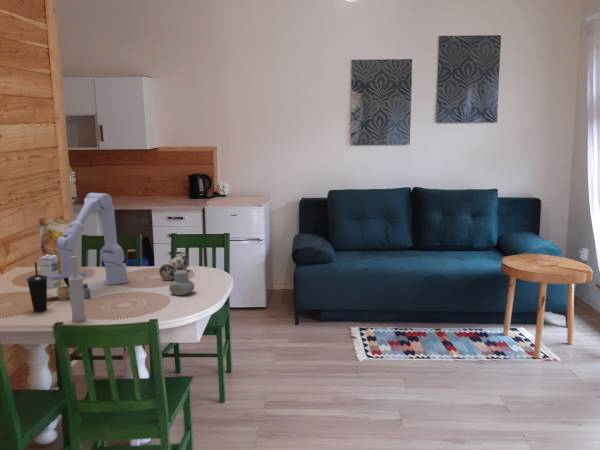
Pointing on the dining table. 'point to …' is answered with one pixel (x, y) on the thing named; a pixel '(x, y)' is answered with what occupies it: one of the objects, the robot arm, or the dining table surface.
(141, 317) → the dining table surface
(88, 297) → the channel
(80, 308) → the bottle
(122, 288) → the dining table surface
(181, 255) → the pencil case
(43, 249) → the pancake mix bag
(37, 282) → the drinking cup
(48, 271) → the syrup box
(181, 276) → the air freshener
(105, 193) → the robot arm
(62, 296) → the plug
